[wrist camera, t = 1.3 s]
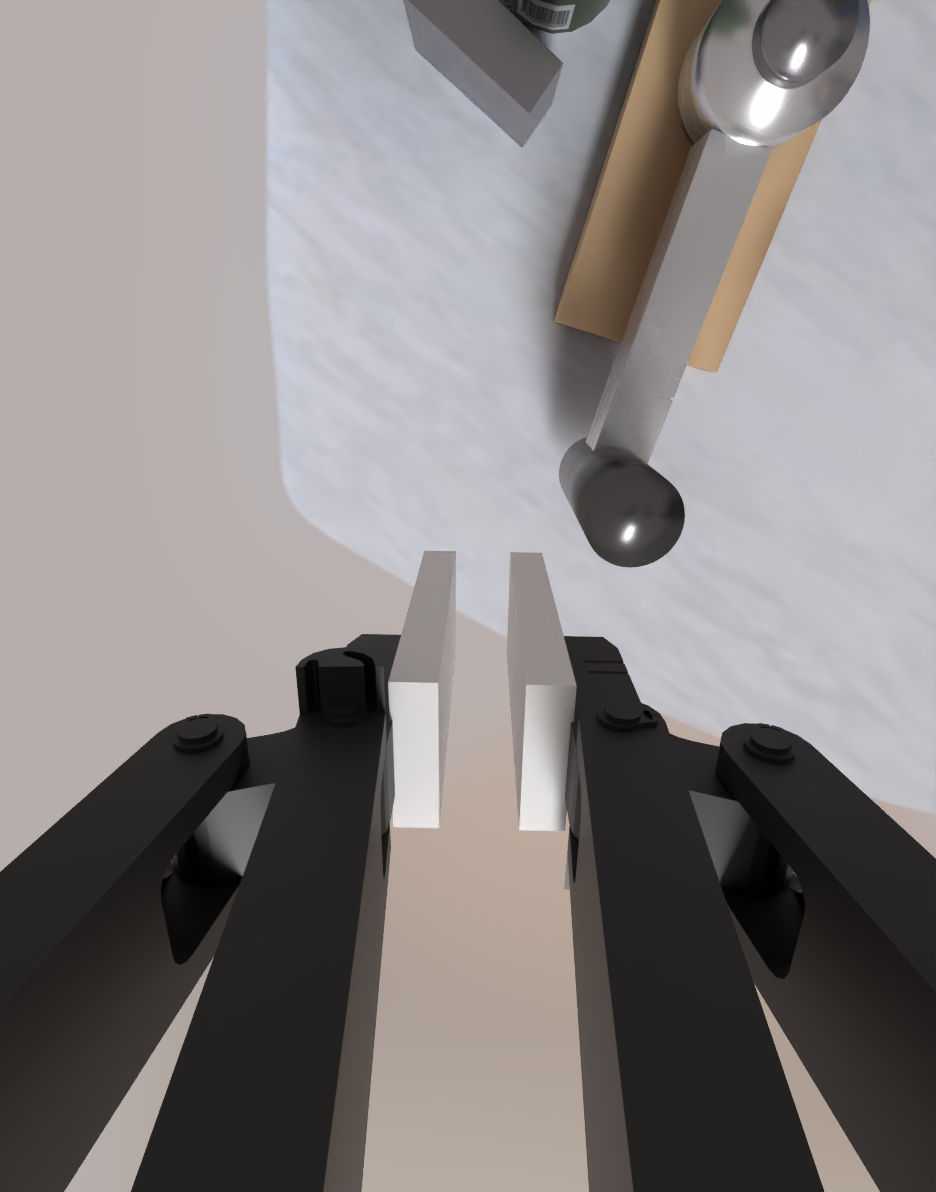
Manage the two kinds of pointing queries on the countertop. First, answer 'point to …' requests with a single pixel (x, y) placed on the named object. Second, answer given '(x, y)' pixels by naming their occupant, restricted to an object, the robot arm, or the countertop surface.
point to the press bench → (665, 197)
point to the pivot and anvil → (531, 71)
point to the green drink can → (557, 13)
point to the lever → (688, 275)
